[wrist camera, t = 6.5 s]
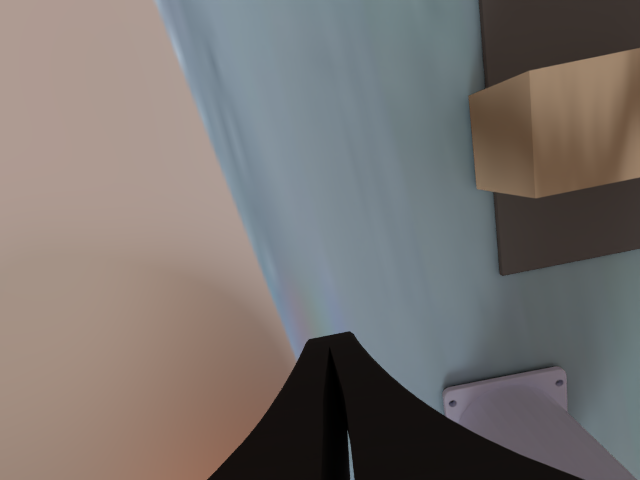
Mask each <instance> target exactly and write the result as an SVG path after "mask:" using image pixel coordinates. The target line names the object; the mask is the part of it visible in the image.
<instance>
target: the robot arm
mask: <svg viewBox="0 0 640 480" xmlns="http://www.w3.org/2000/svg"><path fill="white" fill-rule="evenodd" d="M557 380H558V381H557ZM556 381H557V382H556ZM442 396H443V403H444V411H445V416H444V415H442V414H441V413H439V412H438V411H436V410H435V409H433V408H432V407H430V406H429V405H427V404H426V403H424V402H423V401H422V400H420V399H419V398H417V397H416V396H415V395H413V394H412V393H411V392H409V391H408V390H407V389H406V388H404V387H403V386H402V385H401V384H400V383H398V382H397V381H396V380H395V379H394V378H393V377H391V376H390V375H389V374H388V373H387V372H386V371H385V370H384V369H383V368H382V367H381V366H380V365H379V364H378V363H377V362H376V361H375V360H374V359H373V358H372V357H371V356H370V355H369V354H368V353H367V351H366V350H365V349H364V348H363V347H362V345H361V344H360V343H359V341H358V340H357V339H356V337H355V335H354V334H353V333H351V332H350V331H349V332H344V333H339V334H334V335H329V336H323V337H318V338H313V339H309V340H308V341H307V343H306V344H305V346H304V349H303V351H302V353H301V355H300V357H299V359H298V361H297V363H296V365H295V367H294V369H293V370H292V372H291V374H290V376H289V377H288V379H287V381H286V383H285V384H284V386H283V388H282V390H281V391H280V392H279V394H278V396H277V397H276V399H275V400H274V402H273V403H272V405H271V406H270V408H269V409H268V411H267V412H266V414H265V415H264V416H263V418H262V419H261V421H260V422H259V423H258V424H257V426H256V427H255V428H254V429H253V431H252V432H251V433H250V435H249V436H248V437H247V438H246V439H245V440H244V442H243V443H242V444H241V445H240V446H239V447H238V448H237V449H236V450H235V451H234V452H233V453H232V454H231V455H230V456H229V457H228V459H227V460H226V461H225V462H224V463H223V464H222V465H221V466H220V467H219V468H218V469H217V471H215V472H214V473H213V474H212V475H211V476H210V478H208V479H207V480H350V469H349V451H348V434H349V438H350V443H351V452H352V460H353V469H354V478H355V480H637V479H636V478H635V477H634V476H633V475H632V474H631V473H630V472H629V471H628V470H627V469H626V468H625V467H624V466H623V465H622V464H620V463H619V462H618V461H617V460H616V459H615V458H614V457H613V456H612V455H611V454H610V453H609V452H608V451H607V450H606V449H605V448H604V447H603V446H602V445H601V444H600V443H599V442H598V441H597V440H596V439H595V438H594V437H593V436H592V435H590V434H589V433H588V432H587V431H586V430H585V429H584V428H583V427H582V426H581V425H580V424H579V423H578V422H577V421H576V420H575V419H574V418H573V417H572V416H571V415H570V414H569V413H568V412H567V378H566V372H565V371H564V370H563V369H562V368H561V367H558V366H555V367H550V368H545V369H540V370H534V371H529V372H524V373H519V374H514V375H509V376H503V377H498V378H493V379H488V380H483V381H478V382H473V383H467V384H462V385H457V386H452V387H448V388H446V389H445V390H444V391H443V394H442ZM452 400H454V401H453V402H452V403H449V402H450V401H452ZM347 430H348V434H347Z"/></svg>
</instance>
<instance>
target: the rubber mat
mask: <svg viewBox="0 0 640 480" xmlns="http://www.w3.org/2000/svg"><path fill="white" fill-rule="evenodd" d="M479 9H480V22H481V35H482V48H483V61H484V74H485V88H489V87H491V86H493V85H496V84H498V83H501V82H503V81H506V80H508V79H510V78H513V77H515V76H518V75H520V74H522V73H525V72H527V71H530V70H535V69H540V68H545V67H549V66H554V65H559V64H564V63H569V62H574V61H579V60H583V59H588V58H593V57H598V56H603V55H608V54H612V53H617V52H622V51H627V50H632V49H637V48H640V0H479ZM494 205H495V218H496V231H497V244H498V257H499V270H500V275H502V276H504V275H509V274H514V273H519V272H524V271H529V270H534V269H539V268H544V267H549V266H554V265H559V264H564V263H569V262H575V261H580V260H585V259H590V258H595V257H600V256H605V255H610V254H615V253H620V252H625V251H630V250H635V249H640V177H639V178H634V179H629V180H624V181H619V182H614V183H609V184H604V185H600V186H595V187H590V188H585V189H580V190H575V191H570V192H565V193H560V194H555V195H550V196H545V197H540V198H530V197H523V196H517V195H511V194H505V193H498V192H494Z"/></svg>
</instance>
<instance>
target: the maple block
mask: <svg viewBox="0 0 640 480" xmlns="http://www.w3.org/2000/svg"><path fill="white" fill-rule="evenodd" d="M469 107H470V118H471V129H472V141H473V152H474V163H475V175H476V186H477V189H480V190H486V191H492V192H498V193H505V194H511V195H517V196H523V197H530V198H540V197H545V196H550V195H555V194H560V193H565V192H570V191H575V190H580V189H585V188H590V187H595V186H600V185H604V184H609V183H614V182H619V181H624V180H629V179H634V178H639V177H640V48H637V49H632V50H627V51H622V52H617V53H612V54H608V55H603V56H598V57H593V58H588V59H583V60H579V61H574V62H569V63H564V64H559V65H554V66H549V67H545V68H540V69H535V70H530V71H527V72H525V73H522V74H520V75H518V76H515V77H513V78H510V79H508V80H506V81H503V82H501V83H498V84H496V85H493V86H491V87H489V88H486V89H484V90H481V91H479V92H477V93H474V94H472V95H469Z"/></svg>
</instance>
